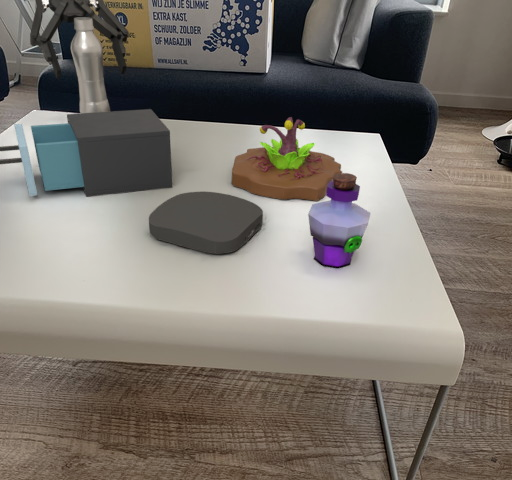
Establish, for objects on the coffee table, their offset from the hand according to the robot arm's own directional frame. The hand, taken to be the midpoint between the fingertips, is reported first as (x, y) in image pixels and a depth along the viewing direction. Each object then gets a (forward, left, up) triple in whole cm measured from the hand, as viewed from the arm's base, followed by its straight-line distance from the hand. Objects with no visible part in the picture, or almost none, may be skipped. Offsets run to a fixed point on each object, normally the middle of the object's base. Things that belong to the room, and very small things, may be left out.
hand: (92, 72), depth 113 cm
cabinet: (-1, -32, -10) cm, 33 cm away
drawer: (-13, -32, -10) cm, 36 cm away
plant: (+27, -40, -11) cm, 49 cm away
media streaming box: (+7, -55, -11) cm, 56 cm away
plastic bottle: (0, +1, -11) cm, 11 cm away
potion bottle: (+21, -69, -11) cm, 73 cm away
